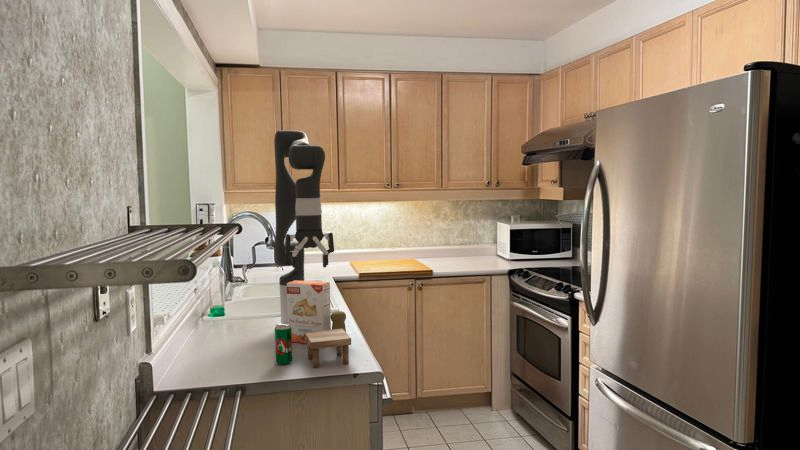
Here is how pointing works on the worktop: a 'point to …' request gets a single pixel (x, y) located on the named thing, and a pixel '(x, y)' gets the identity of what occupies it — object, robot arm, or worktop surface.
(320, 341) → the stool
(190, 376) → the worktop surface
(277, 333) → the soda can
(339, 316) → the cork
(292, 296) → the cracker box
